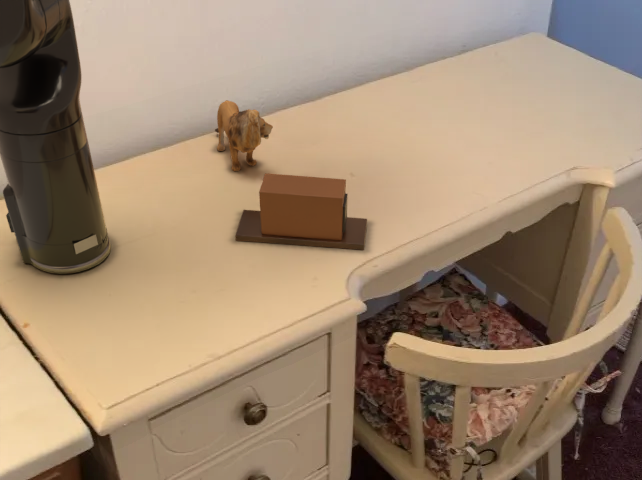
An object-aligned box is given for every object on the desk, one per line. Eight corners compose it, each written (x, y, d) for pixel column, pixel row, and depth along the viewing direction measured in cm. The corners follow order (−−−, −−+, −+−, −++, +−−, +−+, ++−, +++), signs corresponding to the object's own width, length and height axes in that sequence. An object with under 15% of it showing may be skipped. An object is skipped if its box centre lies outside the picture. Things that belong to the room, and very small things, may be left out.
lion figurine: (278, 174, 116) (276, 112, 110) (243, 183, 113) (239, 121, 107) (231, 130, 124) (226, 70, 118) (198, 138, 122) (191, 78, 116)
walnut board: (235, 240, 104) (235, 235, 103) (243, 214, 108) (243, 209, 107) (363, 250, 104) (364, 244, 103) (367, 223, 108) (367, 218, 107)
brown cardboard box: (344, 241, 103) (345, 198, 99) (261, 234, 103) (259, 191, 99) (347, 221, 107) (348, 179, 102) (267, 215, 107) (265, 172, 102)
